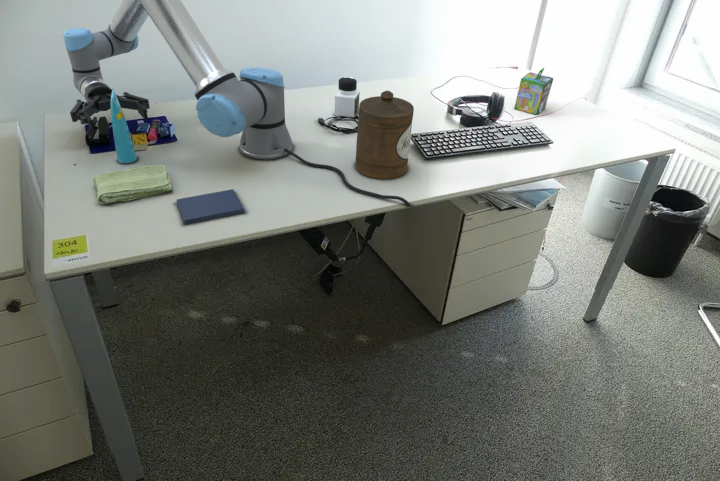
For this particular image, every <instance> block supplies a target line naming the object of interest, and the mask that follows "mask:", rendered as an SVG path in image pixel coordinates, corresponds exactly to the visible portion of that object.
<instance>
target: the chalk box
mask: <svg viewBox="0 0 720 481" xmlns="http://www.w3.org/2000/svg"><path fill="white" fill-rule="evenodd" d="M544 70H545V67H543V68H541V69H540V70H539V72H538V73H534V72H531V71H529V72H528V73H527V74H525V75H524V76H523V77H521V79H520V82H519V87H518V91H517V95H516V99H515V104H514V107H513V109H514V110H518V111H521V112H525V113H528V114H531V115H536V116H538V115H539V114H540V113H542V111H544V110H545V109H546V107H547V103H548V99H549V95H550V92H551V89H552V85H553V82H554V77H552V76H551V77H550V76H547V75H543V72H544Z"/></svg>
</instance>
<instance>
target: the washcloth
mask: <svg viewBox="0 0 720 481" xmlns="http://www.w3.org/2000/svg"><path fill="white" fill-rule="evenodd" d="M92 181H93V184H94V187H95V190H97V191H96V201H97V202H98V203H100V204H103V205H107V204H113V203H116V202H119V203H120V202H130V201H133V200H138V199H142V198H147V197H152V196H155V195H160V194H163V193H168V192H170V191H172V190H173V189H172V188H173V187H172V184H171V179H170V176H169V175H168V174H167V171H166V168H165V165H162V164H155V165H153V164H152V165H151V164H150V165H143V166H142V165H141V166H138V167H132V168H128V169H123V170H113V171H108V172H102V173H100V174H97V175H95V176H94V177H93V178H92Z"/></svg>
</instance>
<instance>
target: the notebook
mask: <svg viewBox="0 0 720 481" xmlns="http://www.w3.org/2000/svg"><path fill="white" fill-rule="evenodd" d="M175 200H176V205H177V207H178V210H179V213H180V216H181V218H182V221H183V224H184V225H189V224H190V225H191V224H195V223H200V222H204V221H209V220H215V219H220V218H225V217H229V216H234V215H240V214H244V213H245V208H244V206H243V204H242V202H241V201H240V198H239V197H238V196H237V194H236V192H235V190H234V188H231V189H225V190H220V191H215V192H210V193H204V194H199V195H192V196H189V197H188V196H187V197H183V198H176V199H175Z"/></svg>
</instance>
